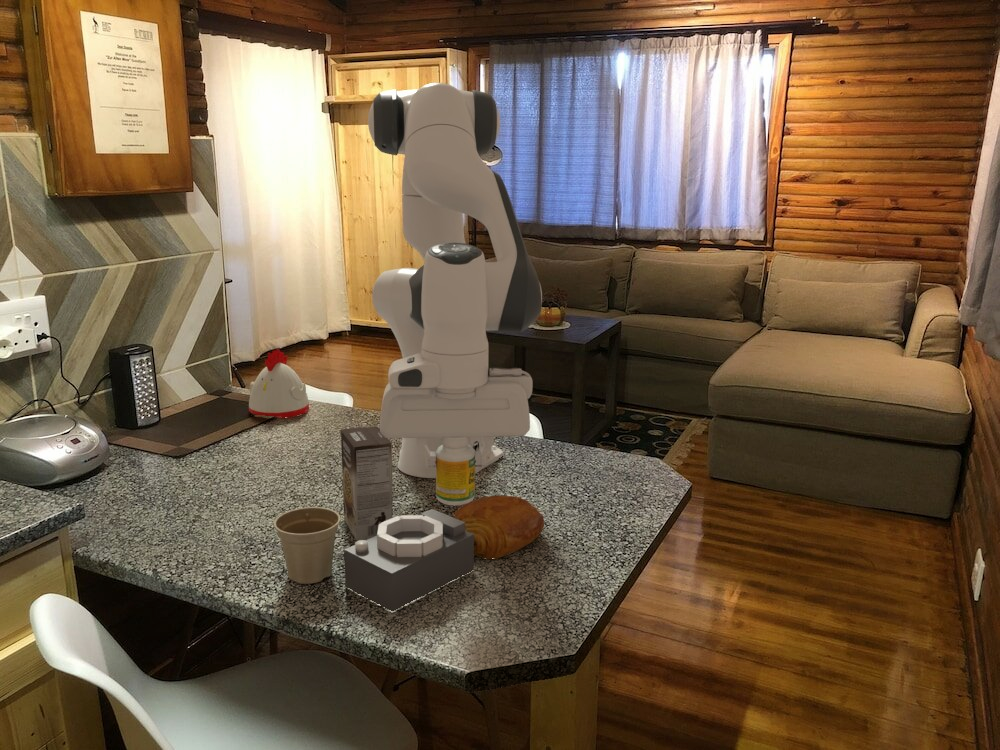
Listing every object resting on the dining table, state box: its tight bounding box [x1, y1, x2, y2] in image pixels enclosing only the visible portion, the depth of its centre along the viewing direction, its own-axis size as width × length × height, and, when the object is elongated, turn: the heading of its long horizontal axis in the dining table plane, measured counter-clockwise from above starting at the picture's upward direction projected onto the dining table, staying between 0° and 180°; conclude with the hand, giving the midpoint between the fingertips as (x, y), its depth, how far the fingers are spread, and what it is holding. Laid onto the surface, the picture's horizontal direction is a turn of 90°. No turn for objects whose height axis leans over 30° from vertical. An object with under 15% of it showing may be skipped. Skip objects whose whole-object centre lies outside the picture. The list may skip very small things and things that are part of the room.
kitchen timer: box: [248, 348, 310, 418], centre depth 193 cm, size 14×14×15 cm
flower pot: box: [273, 506, 342, 585], centre depth 118 cm, size 9×9×9 cm
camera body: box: [343, 508, 475, 611], centre depth 117 cm, size 16×10×8 cm, turn 139°
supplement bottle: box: [435, 437, 476, 506], centre depth 111 cm, size 5×5×10 cm
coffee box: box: [340, 425, 393, 542], centre depth 133 cm, size 9×6×16 cm
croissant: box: [452, 494, 545, 560], centre depth 131 cm, size 14×16×8 cm
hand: (455, 465), depth 111 cm, fingers closed on supplement bottle, 5 cm apart
